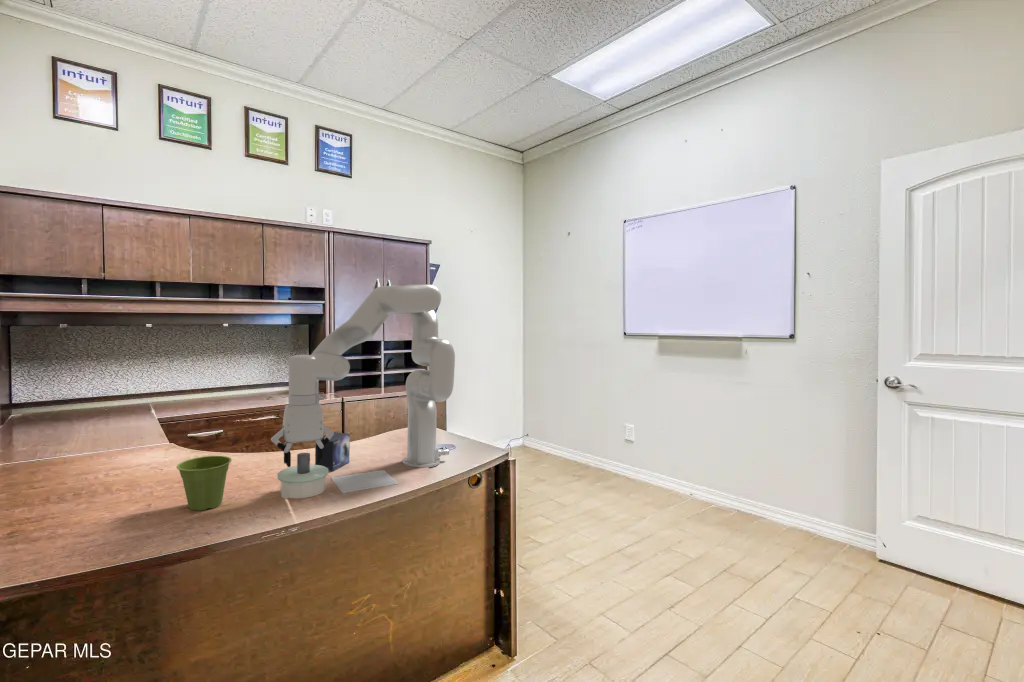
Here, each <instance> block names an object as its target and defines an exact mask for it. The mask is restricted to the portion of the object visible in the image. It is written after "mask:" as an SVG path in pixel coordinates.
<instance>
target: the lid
mask: <svg viewBox="0 0 1024 682" xmlns="http://www.w3.org/2000/svg"><path fill="white" fill-rule="evenodd" d="M296 458H297V459H296V464H297V465H295V466H290V467H287V468H284V469H281V470H280V471H278V472H277V475H276V476H277V480H278V481H280V482H281V481H282V482H287V483H304V482H311V481H315V480H319V479H322V478H324V477H325V478H326V477H327V476H328V475H329V472H328V468H327V467H325V466H321V465H315V464H311V454H310V452H300V453H299V452H298V453H297V455H296Z"/></svg>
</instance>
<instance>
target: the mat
mask: <svg viewBox="0 0 1024 682" xmlns="http://www.w3.org/2000/svg"><path fill="white" fill-rule="evenodd" d="M330 479H331V480H332V482H333V483H334V485H336V487H337V488H338V489H339V490H340V492H341V494H346V493H352V492H359V491H365V490H371V489H376V488H381V487H387V486H388V487H389V486H395V485H399V482H398V481H397V480H396V479H394V478H393V477H392V476H391V475H390V474H389V473H388V472H386V470H384V469H381V470H373V471H367V472H361V473H354V474H347V475H342V476H334V477H330Z"/></svg>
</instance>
